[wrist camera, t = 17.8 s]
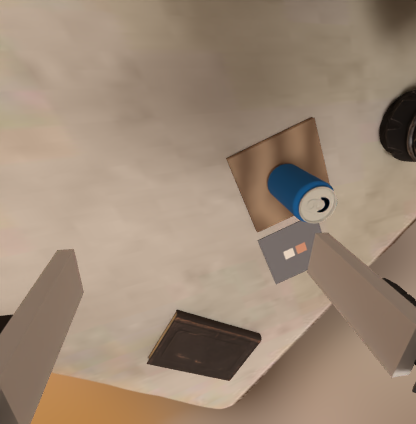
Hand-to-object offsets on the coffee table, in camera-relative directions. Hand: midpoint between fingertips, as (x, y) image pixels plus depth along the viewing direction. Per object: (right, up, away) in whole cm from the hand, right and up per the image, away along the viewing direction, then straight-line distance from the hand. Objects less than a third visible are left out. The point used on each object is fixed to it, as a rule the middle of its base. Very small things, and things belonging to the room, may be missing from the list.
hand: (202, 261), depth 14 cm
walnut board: (+14, +9, +34) cm, 37 cm away
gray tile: (+19, -6, +41) cm, 46 cm away
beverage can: (+14, +9, +33) cm, 37 cm away
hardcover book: (-1, -30, +50) cm, 58 cm away
